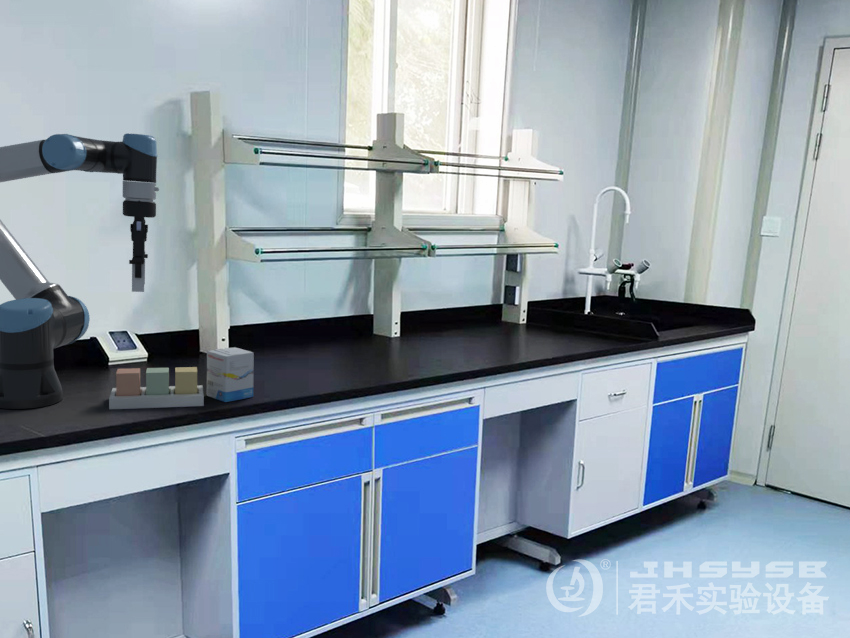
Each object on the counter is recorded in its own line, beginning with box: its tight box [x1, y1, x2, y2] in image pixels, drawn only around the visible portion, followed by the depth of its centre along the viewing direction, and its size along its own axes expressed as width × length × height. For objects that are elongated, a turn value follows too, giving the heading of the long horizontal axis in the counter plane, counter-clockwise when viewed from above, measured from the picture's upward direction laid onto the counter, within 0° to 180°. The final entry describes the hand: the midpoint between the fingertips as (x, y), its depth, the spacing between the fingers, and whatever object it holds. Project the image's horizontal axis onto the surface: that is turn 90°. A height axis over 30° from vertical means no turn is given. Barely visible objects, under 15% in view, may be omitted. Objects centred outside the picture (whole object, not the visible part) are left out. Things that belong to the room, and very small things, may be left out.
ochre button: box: [174, 366, 198, 394], centre depth 181 cm, size 5×5×6 cm
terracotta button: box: [115, 367, 141, 396], centre depth 177 cm, size 5×5×6 cm
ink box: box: [206, 346, 255, 403], centre depth 187 cm, size 9×8×12 cm
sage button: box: [145, 367, 170, 395], centre depth 179 cm, size 5×5×6 cm
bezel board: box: [108, 384, 205, 410], centre depth 179 cm, size 21×10×2 cm, turn 108°
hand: (138, 287), depth 183 cm, fingers open, 13 cm apart
